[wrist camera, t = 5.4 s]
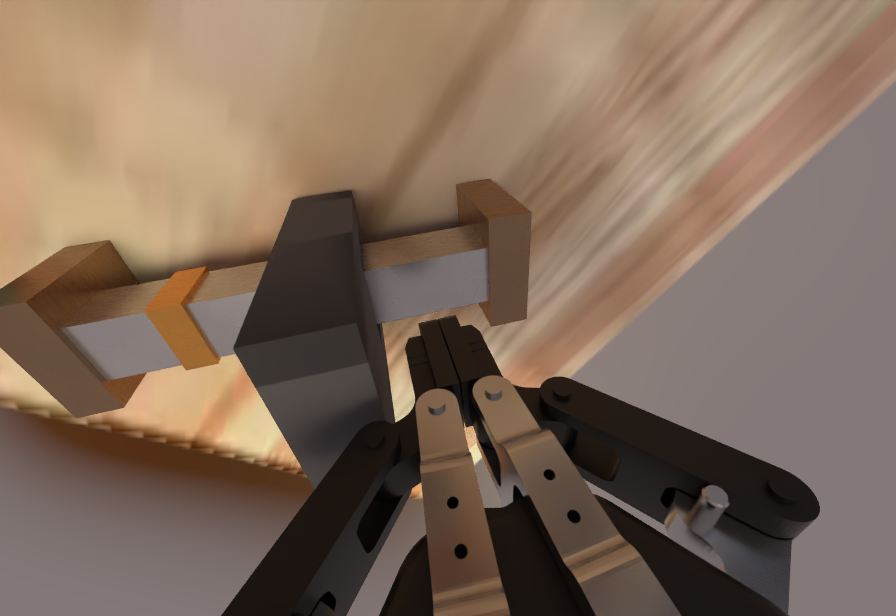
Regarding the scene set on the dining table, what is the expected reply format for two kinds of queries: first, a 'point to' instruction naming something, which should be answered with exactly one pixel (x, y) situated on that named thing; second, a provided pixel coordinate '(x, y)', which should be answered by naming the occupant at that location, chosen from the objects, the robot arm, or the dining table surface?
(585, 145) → the dining table surface
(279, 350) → the collar
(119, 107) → the dining table surface
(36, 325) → the grey bar with endplates
